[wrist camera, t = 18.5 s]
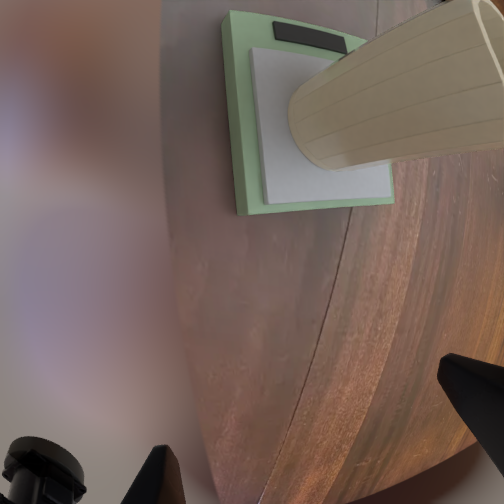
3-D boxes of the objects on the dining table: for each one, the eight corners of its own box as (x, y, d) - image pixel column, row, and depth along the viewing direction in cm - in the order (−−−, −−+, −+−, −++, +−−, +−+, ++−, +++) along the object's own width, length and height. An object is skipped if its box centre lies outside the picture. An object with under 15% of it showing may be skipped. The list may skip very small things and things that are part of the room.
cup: (370, 175, 20) (550, 157, 8) (289, 169, 18) (506, 120, 6) (362, 90, 20) (518, 33, 7) (283, 71, 17) (449, -39, 5)
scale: (377, 204, 24) (400, 203, 22) (236, 215, 20) (252, 214, 17) (353, 48, 22) (372, 37, 20) (220, 24, 18) (232, 4, 15)
